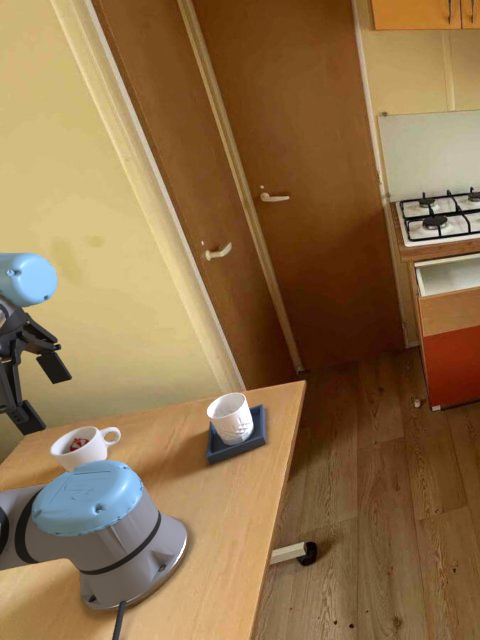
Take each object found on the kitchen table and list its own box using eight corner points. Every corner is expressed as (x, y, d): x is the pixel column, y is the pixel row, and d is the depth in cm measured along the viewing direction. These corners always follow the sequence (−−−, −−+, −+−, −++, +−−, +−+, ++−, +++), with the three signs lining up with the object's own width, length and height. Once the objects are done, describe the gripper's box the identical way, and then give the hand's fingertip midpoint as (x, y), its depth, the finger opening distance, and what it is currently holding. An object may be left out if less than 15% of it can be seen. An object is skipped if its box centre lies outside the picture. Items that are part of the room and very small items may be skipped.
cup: (123, 435, 104) (109, 412, 100) (132, 453, 99) (117, 430, 95) (63, 466, 96) (46, 442, 92) (70, 487, 92) (51, 463, 88)
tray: (266, 443, 102) (263, 436, 100) (209, 464, 97) (205, 457, 95) (265, 410, 111) (262, 403, 109) (213, 428, 106) (209, 421, 104)
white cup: (231, 453, 99) (218, 423, 94) (213, 439, 102) (199, 409, 97) (263, 429, 105) (252, 400, 100) (245, 416, 108) (233, 387, 104)
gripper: (-23, 347, 60) (52, 446, 70) (44, 271, 79) (95, 357, 89) (-102, 364, 57) (-11, 466, 67) (-12, 280, 76) (48, 369, 86)
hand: (50, 404), depth 78 cm, fingers open, 13 cm apart
